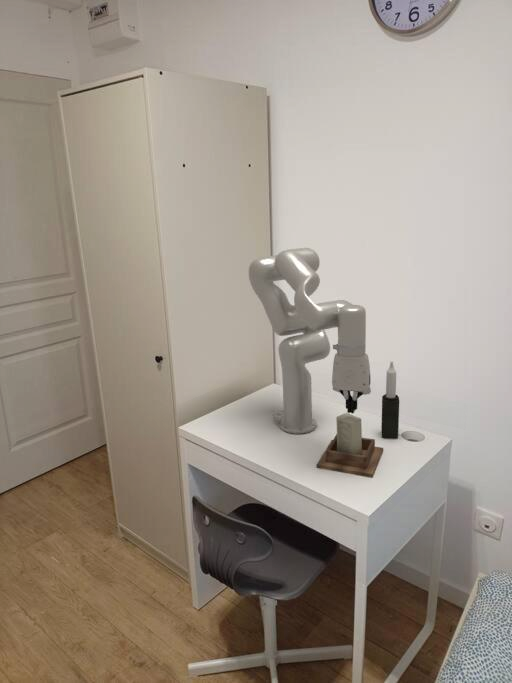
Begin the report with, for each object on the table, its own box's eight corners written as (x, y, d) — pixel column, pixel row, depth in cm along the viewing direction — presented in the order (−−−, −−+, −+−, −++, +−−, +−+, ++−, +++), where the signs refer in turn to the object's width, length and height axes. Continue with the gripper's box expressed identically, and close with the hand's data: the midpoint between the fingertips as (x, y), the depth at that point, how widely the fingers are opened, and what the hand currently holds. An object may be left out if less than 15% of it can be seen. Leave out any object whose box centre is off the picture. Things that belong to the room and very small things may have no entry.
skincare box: (362, 457, 146) (362, 418, 143) (351, 462, 144) (352, 423, 140) (346, 449, 151) (346, 412, 148) (335, 454, 149) (335, 416, 145)
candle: (398, 439, 158) (401, 364, 151) (381, 438, 159) (383, 363, 152) (397, 432, 163) (399, 358, 156) (381, 431, 164) (382, 358, 157)
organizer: (316, 467, 144) (316, 453, 143) (331, 442, 158) (331, 429, 157) (372, 477, 137) (372, 462, 136) (383, 450, 151) (383, 437, 150)
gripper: (321, 351, 138) (322, 413, 143) (376, 355, 132) (375, 419, 137) (329, 344, 145) (329, 403, 150) (381, 348, 139) (380, 409, 143)
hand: (351, 411), depth 143 cm, fingers closed
